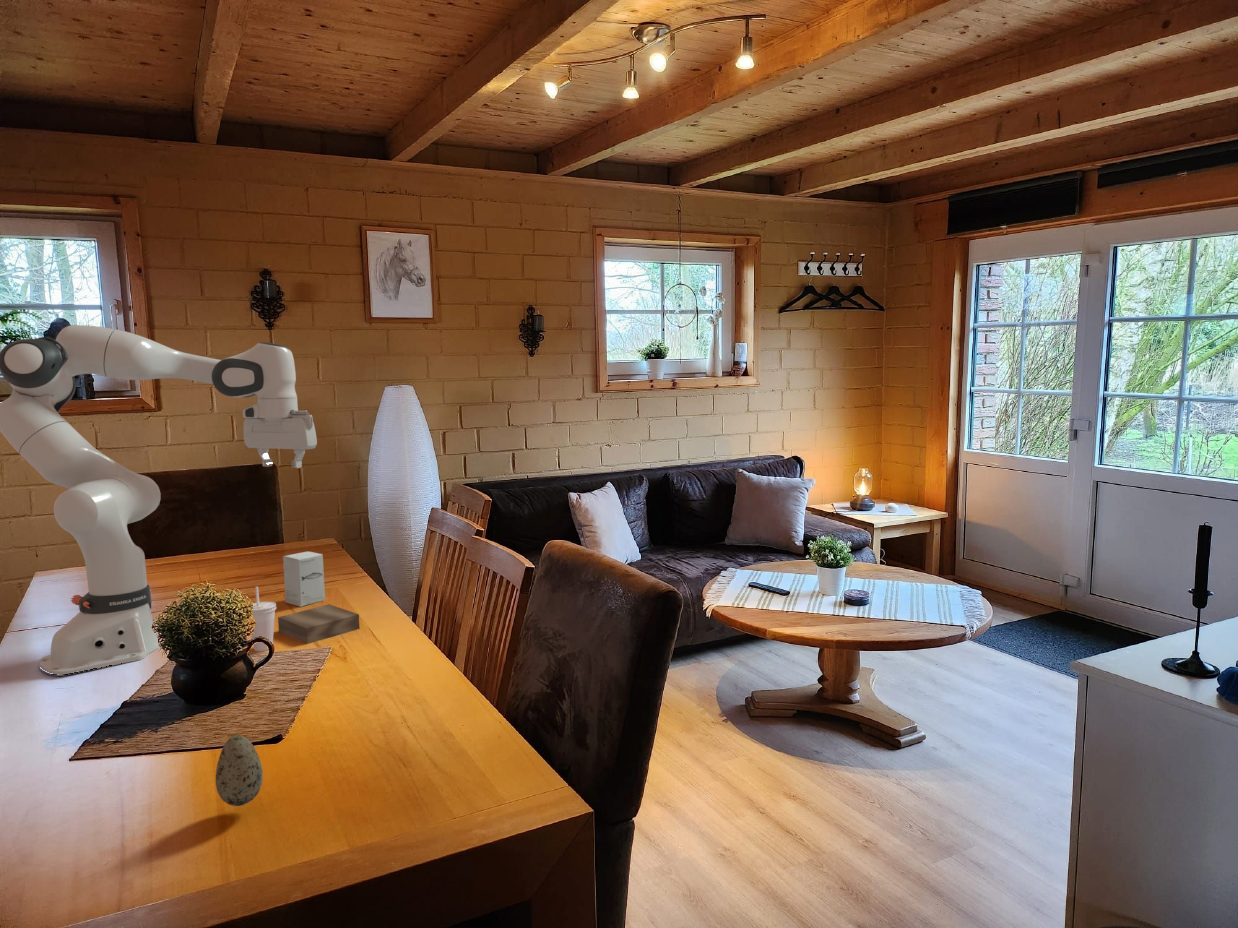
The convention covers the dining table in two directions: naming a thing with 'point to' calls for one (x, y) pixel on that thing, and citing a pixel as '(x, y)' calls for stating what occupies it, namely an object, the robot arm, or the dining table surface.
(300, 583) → the supplement box
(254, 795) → the decorative egg
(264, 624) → the smoothie
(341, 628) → the walnut block
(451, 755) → the dining table surface
